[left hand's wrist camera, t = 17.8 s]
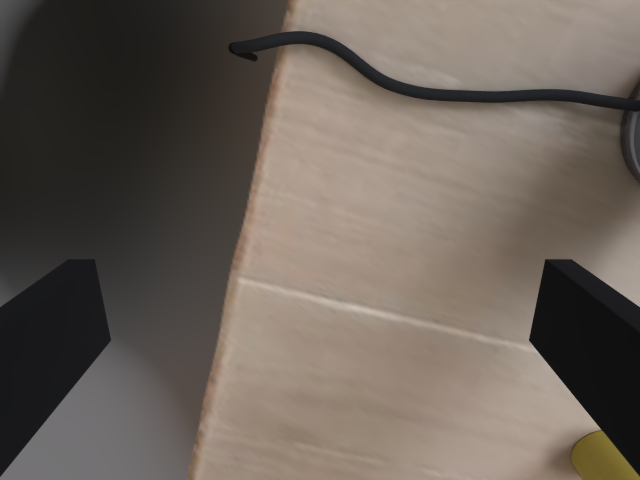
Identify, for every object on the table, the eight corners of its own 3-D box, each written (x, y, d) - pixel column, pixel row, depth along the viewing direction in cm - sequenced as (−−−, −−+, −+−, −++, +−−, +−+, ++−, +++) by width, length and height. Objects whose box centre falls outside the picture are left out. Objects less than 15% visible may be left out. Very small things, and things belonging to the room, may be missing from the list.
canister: (643, 449, 54) (693, 506, 47) (595, 483, 56) (636, 542, 49) (605, 420, 52) (651, 474, 45) (558, 456, 55) (594, 513, 47)
